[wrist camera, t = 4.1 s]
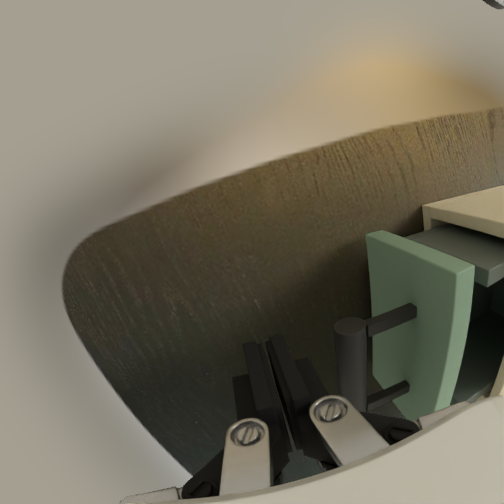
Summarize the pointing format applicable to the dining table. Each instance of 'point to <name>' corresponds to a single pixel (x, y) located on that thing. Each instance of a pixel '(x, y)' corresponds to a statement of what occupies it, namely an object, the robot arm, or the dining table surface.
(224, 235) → the dining table surface
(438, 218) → the small storage cabinet
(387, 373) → the drawer
